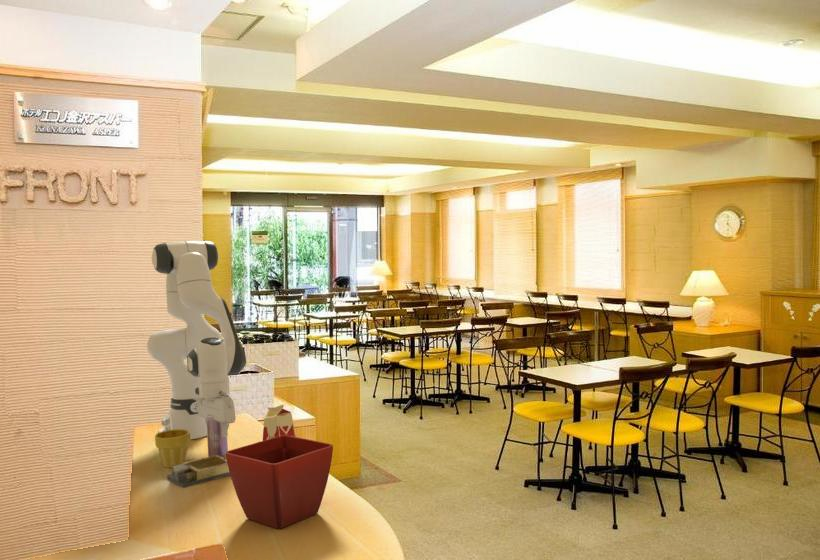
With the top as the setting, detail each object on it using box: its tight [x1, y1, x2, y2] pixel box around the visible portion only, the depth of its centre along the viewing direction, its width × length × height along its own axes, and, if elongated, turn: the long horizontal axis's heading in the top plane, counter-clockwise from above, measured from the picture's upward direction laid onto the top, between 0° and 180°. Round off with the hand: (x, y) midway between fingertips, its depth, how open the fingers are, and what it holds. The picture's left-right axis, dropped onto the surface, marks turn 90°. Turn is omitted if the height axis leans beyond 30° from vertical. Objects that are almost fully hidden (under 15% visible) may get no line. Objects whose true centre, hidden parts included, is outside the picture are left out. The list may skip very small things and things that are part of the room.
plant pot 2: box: [225, 435, 334, 530], centre depth 168 cm, size 19×19×17 cm
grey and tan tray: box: [166, 454, 230, 488], centre depth 203 cm, size 12×21×5 cm, turn 131°
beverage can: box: [206, 414, 229, 457], centre depth 215 cm, size 6×6×15 cm
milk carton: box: [262, 404, 297, 441], centre depth 204 cm, size 9×9×20 cm
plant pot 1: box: [154, 429, 191, 468], centre depth 214 cm, size 10×10×10 cm
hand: (217, 434), depth 215 cm, fingers open, 8 cm apart
